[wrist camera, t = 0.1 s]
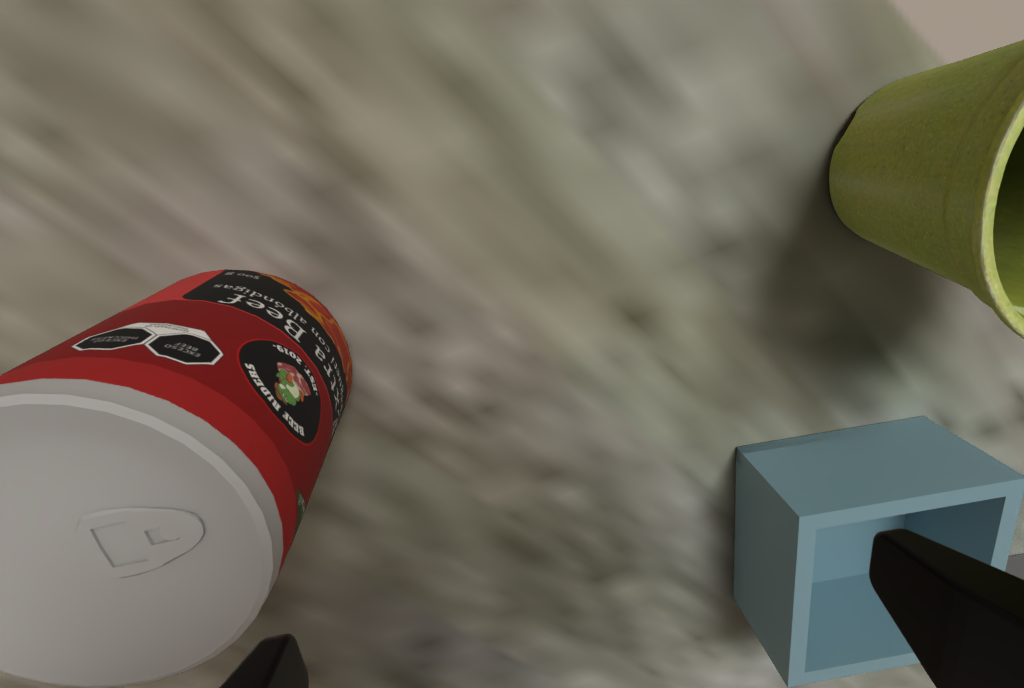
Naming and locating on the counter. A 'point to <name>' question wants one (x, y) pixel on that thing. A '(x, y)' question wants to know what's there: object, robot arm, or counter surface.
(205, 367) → the canned food
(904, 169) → the plant pot
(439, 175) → the counter surface
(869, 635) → the bin
